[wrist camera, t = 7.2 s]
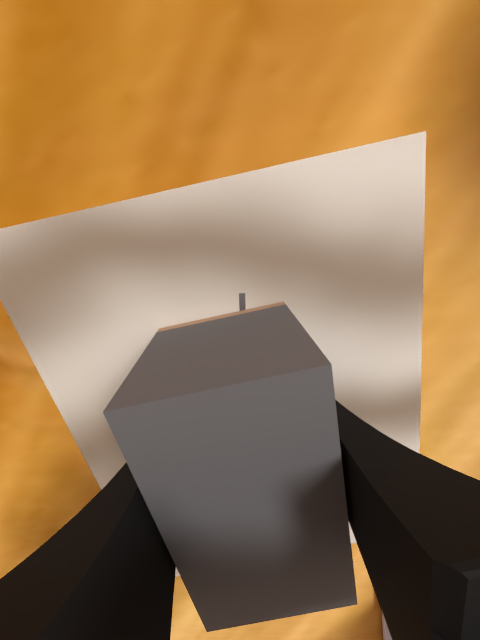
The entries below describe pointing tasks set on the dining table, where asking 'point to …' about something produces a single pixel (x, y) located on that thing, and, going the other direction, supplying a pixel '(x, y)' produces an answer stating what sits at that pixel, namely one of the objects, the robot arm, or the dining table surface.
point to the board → (233, 281)
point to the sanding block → (241, 464)
